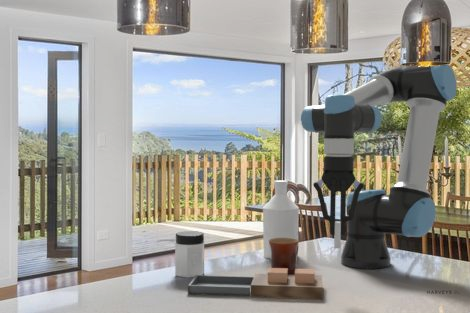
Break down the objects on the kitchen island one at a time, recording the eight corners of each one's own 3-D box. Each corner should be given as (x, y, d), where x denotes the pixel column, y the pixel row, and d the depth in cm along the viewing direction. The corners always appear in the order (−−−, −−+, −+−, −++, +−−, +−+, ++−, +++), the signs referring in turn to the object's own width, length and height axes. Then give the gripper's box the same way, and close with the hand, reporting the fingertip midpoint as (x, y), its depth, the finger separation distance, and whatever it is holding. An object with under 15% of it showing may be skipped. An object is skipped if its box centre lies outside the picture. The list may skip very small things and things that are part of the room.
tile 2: (314, 278, 158) (314, 269, 158) (314, 283, 153) (314, 273, 153) (295, 277, 158) (295, 268, 158) (294, 282, 153) (294, 273, 153)
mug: (289, 281, 167) (289, 244, 166) (262, 276, 172) (262, 241, 171) (309, 272, 177) (309, 238, 176) (284, 268, 182) (284, 234, 181)
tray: (253, 284, 163) (253, 276, 163) (249, 296, 152) (249, 287, 152) (196, 282, 165) (196, 275, 165) (187, 294, 154) (187, 285, 154)
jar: (180, 279, 169) (179, 237, 169) (170, 272, 177) (170, 232, 176) (209, 275, 173) (209, 234, 172) (199, 269, 180) (199, 230, 180)
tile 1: (287, 277, 159) (287, 268, 159) (286, 282, 154) (287, 272, 154) (268, 277, 159) (268, 267, 159) (267, 281, 154) (267, 272, 154)
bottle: (300, 252, 204) (300, 179, 203) (296, 260, 192) (296, 183, 191) (266, 251, 207) (266, 179, 205) (259, 258, 195) (259, 182, 194)
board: (321, 286, 161) (321, 275, 161) (322, 299, 149) (322, 287, 149) (255, 284, 163) (255, 273, 163) (250, 296, 152) (250, 285, 151)
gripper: (363, 155, 156) (361, 245, 157) (312, 154, 157) (311, 243, 158) (366, 156, 148) (364, 251, 149) (312, 155, 150) (311, 249, 151)
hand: (337, 247), depth 154 cm, fingers closed
